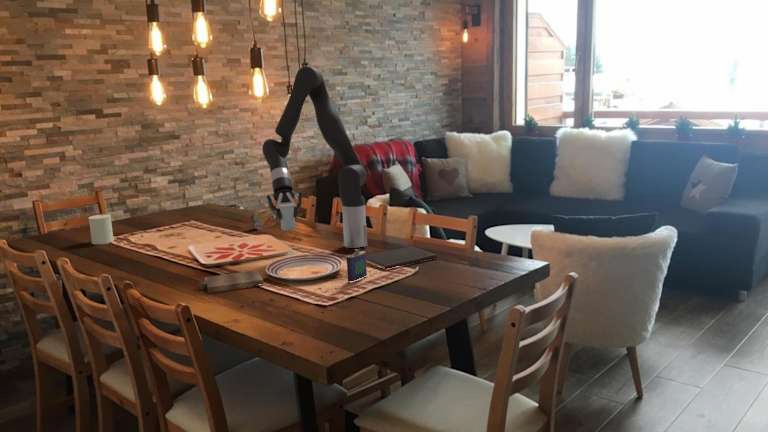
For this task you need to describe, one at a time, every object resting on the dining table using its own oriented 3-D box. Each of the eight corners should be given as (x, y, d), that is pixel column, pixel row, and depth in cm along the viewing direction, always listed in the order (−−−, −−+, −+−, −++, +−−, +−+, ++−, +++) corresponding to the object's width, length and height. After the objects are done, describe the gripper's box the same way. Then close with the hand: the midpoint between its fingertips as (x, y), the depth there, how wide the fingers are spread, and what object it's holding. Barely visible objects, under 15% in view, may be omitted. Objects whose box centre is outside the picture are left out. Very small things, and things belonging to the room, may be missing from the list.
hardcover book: (361, 262, 243) (361, 256, 242) (412, 251, 255) (411, 246, 255) (385, 272, 230) (385, 266, 229) (436, 260, 242) (436, 254, 241)
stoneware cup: (295, 226, 250) (293, 201, 248) (295, 229, 245) (293, 204, 243) (281, 227, 250) (279, 202, 248) (280, 230, 244) (278, 204, 242)
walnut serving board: (257, 275, 230) (256, 270, 229) (263, 285, 219) (263, 279, 218) (198, 283, 223) (197, 278, 222) (201, 294, 212) (201, 288, 211)
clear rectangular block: (254, 231, 297) (253, 213, 295) (249, 230, 299) (248, 212, 297) (278, 224, 309) (277, 207, 307) (273, 224, 311) (272, 206, 309)
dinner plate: (322, 288, 214) (321, 278, 213) (251, 281, 224) (250, 272, 223) (355, 265, 239) (355, 256, 238) (290, 260, 248) (289, 251, 248)
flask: (362, 275, 226) (361, 245, 223) (369, 276, 224) (368, 246, 221) (345, 282, 218) (344, 251, 216) (352, 284, 217) (351, 253, 214)
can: (118, 239, 292) (114, 213, 289) (107, 244, 283) (103, 217, 280) (98, 239, 293) (95, 213, 290) (87, 244, 284) (83, 217, 281)
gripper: (263, 177, 249) (269, 214, 240) (300, 174, 252) (307, 210, 243) (262, 189, 255) (268, 225, 246) (299, 186, 258) (306, 221, 250)
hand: (288, 217), depth 245 cm, fingers closed on stoneware cup, 5 cm apart
